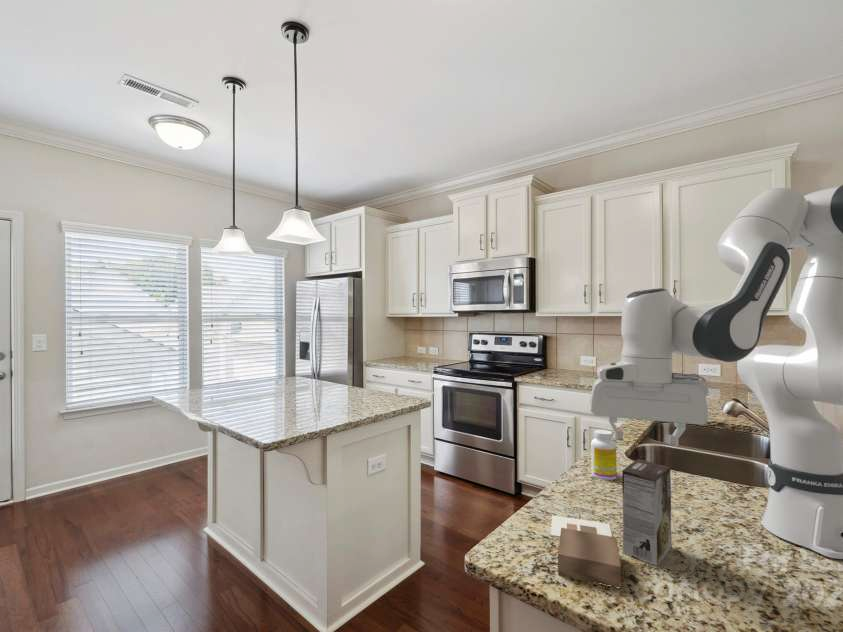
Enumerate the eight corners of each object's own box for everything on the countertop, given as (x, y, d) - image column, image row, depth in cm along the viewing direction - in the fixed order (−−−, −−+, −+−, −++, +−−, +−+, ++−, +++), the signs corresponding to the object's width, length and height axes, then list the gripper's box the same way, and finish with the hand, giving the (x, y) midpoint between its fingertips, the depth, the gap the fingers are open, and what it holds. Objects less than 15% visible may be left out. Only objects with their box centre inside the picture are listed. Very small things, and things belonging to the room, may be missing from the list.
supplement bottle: (620, 481, 114) (620, 435, 114) (596, 481, 114) (596, 435, 114) (610, 472, 121) (609, 428, 121) (587, 472, 121) (587, 428, 121)
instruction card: (609, 524, 90) (609, 523, 90) (613, 546, 82) (613, 544, 82) (552, 516, 94) (552, 514, 94) (550, 535, 86) (550, 534, 86)
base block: (616, 558, 78) (616, 537, 78) (620, 590, 69) (620, 566, 69) (561, 547, 82) (561, 527, 82) (558, 576, 73) (558, 554, 73)
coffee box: (637, 535, 86) (636, 458, 86) (672, 547, 81) (672, 465, 81) (621, 553, 79) (620, 469, 79) (658, 567, 75) (657, 478, 75)
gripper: (703, 372, 80) (702, 444, 80) (589, 367, 87) (589, 432, 87) (714, 376, 74) (713, 453, 74) (591, 370, 81) (590, 441, 81)
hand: (645, 442), depth 80 cm, fingers open, 8 cm apart
